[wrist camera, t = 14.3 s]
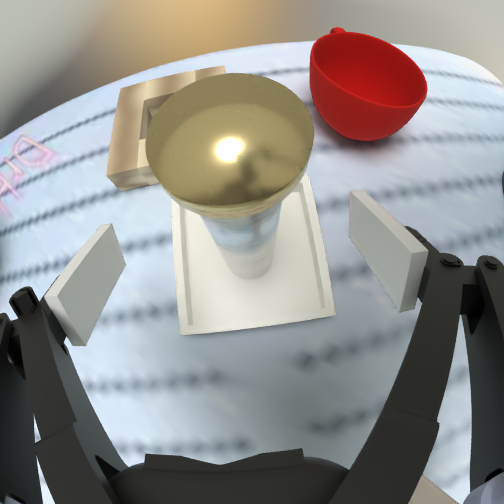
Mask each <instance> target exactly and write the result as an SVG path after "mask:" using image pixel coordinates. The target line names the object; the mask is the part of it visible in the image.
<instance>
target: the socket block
mask: <svg viewBox="0 0 504 504" xmlns="http://www.w3.org/2000/svg"><path fill="white" fill-rule="evenodd" d="M220 74H226V71H225V66H218V67H211V68H205V69H200V70H194V71H189V72H184V73H179V74H174V75H170V76H166V77H161V78H157V79H153V80H149V81H145V82H142V83H138V84H135V85H131V86H128V87H124V88H121V90H120V94H119V99H118V104H117V109H116V114H115V119H114V124H113V130H112V136H111V143H110V150H109V157H108V165H107V173H106V176H107V177H108V178H109V179H110V180H111V181H112V182H113V183H114V184H115V186H116V187H117V188H118V189H119V190H120V191H125V190H130V189H134V188H139V187H144V186H149V185H154V184H159V181H158V180H157V178H156V177H155V175H154V174H153V172H152V170H151V168H150V166H149V164H148V161H147V157H146V151H145V141H146V134H147V131H148V128H149V125H150V123H151V121H152V118H153V117H154V115H155V114H156V112H157V111H158V109H159V108H160V107H161V106H162V104H163V103H164V102H165V101H166V100H167V99H168V98H169V97H171V96H172V95H173V94H174V93H176V92H177V91H179V90H180V89H182V88H183V87H185V86H187V85H189V84H191V83H193V82H195V81H198V80H200V79H203V78H207V77H210V76H215V75H220Z"/></svg>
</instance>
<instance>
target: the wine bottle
mask: <svg viewBox="0 0 504 504" xmlns="http://www.w3.org/2000/svg"><path fill="white" fill-rule="evenodd" d="M408 504H459V503H458V502H456V501H455V500H454V499H453V498H451V497H450V496H449V495H447V494H446V493H445V492H444V491H442V490H441V489H440V488H439V487H437V486H436V485H435V484H434V483H432V482H431V481H430V480H429V479H427V478H426V477H425V476H424V475H423V474H422V476H421V478H420V480H419V482H418V485H417V487H416V489H415V491H414V493H413V495H412V497H411V499H410V501H409V503H408Z"/></svg>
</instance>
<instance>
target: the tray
mask: <svg viewBox="0 0 504 504" xmlns="http://www.w3.org/2000/svg"><path fill="white" fill-rule="evenodd" d="M171 203H172V232H173V252H174V268H175V282H176V294H177V305H178V316H179V326H180V335H193V334H204V333H214V332H224V331H233V330H241V329H249V328H257V327H265V326H272V325H279V324H286V323H293V322H299V321H305V320H312V319H317V318H323V317H329V316H334V315H336V313H335V306H334V300H333V294H332V288H331V282H330V276H329V270H328V265H327V259H326V254H325V249H324V244H323V239H322V234H321V229H320V224H319V219H318V215H317V210H316V205H315V201H314V196H313V192H312V188H311V183H310V179H309V175H303V178H302V180H301V181H300V182H299V184H298V185H297V187H296V188H295V189H294V190H293V191H292V192H291V193H290V195H288V196H287V197H286V198H285V199H284V200H282V206H281V212H280V218H279V225H278V231H277V237H276V243H275V249H274V255H273V261H272V265H271V267H270V269H269V270H268V271H267V272H266V273H265V274H264V275H263V276H261V277H259V278H257V279H253V280H246V279H242V278H239V277H237V276H236V275H234V274H233V273H232V272H231V271H230V269H229V268H228V266H227V264H226V262H225V261H224V259H223V257H222V255H221V253H220V251H219V250H218V248H217V246H216V244H215V242H214V240H213V239H212V237H211V235H210V233H209V231H208V229H207V228H206V226H205V224H204V222H203V220H202V218H201V216H200V215H199V214H196V213H194V212H191V211H189V210H187V209H185V208H184V207H182V206H180V205H179V204H177V203H176V202H175V201H174V200H173V199H172V198H171Z"/></svg>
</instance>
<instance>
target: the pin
mask: <svg viewBox="0 0 504 504" xmlns="http://www.w3.org/2000/svg"><path fill="white" fill-rule="evenodd" d="M313 139H314V127H313V123H312V119H311V116H310V114H309V111H308V110H307V108H306V106H305V105H304V103H303V102H302V101H301V100H300V98H299V97H298V96H297V95H296V94H294V93H293V92H292V91H291V90H289V89H288V88H287V87H285V86H283V85H282V84H280V83H278V82H276V81H273V80H271V79H269V78H265V77H262V76H258V75H252V74H244V73H229V74H220V75H215V76H210V77H207V78H203V79H200V80H198V81H195V82H193V83H191V84H189V85H187V86H185V87H183V88H182V89H180V90H179V91H177V92H176V93H174V94H173V95H172V96H171V97H169V98H168V99H167V100H166V101H165V102H164V103H163V104H162V106H161V107H160V108H159V109H158V111H157V112H156V114H155V115H154V117H153V118H152V121H151V123H150V125H149V128H148V131H147V134H146V141H145V151H146V157H147V161H148V164H149V166H150V168H151V170H152V172H153V174H154V175H155V177H156V178H157V180H158V181H159V183H160V184H161V186H162V187H163V189H164V190H165V191H166V193H167V194H168V195H169V196H170V197H171V198H172V199H173V200H174V201H175V202H176V203H177V204H179V205H180V206H182V207H184V208H185V209H187V210H189V211H191V212H194V213H196V214H199V215H200V216H201V218H202V220H203V222H204V224H205V226H206V228H207V229H208V231H209V233H210V235H211V237H212V239H213V240H214V242H215V244H216V246H217V248H218V250H219V251H220V253H221V255H222V257H223V259H224V261H225V262H226V264H227V266H228V268H229V269H230V271H231V272H232V273H233V274H234V275H236V276H237V277H239V278H242V279H246V280H253V279H257V278H259V277H261V276H263V275H264V274H265V273H266V272H267V271H268V270H269V269H270V267H271V265H272V261H273V255H274V249H275V243H276V237H277V231H278V225H279V218H280V212H281V206H282V200H284V199H285V198H286V197H287V196H288V195H290V193H291V192H292V191H293V190H294V189H295V188H296V187H297V185H298V184H299V182H300V181H301V180H302V178H303V175H304V173H305V171H306V168H307V165H308V161H309V158H310V154H311V150H312V146H313Z"/></svg>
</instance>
